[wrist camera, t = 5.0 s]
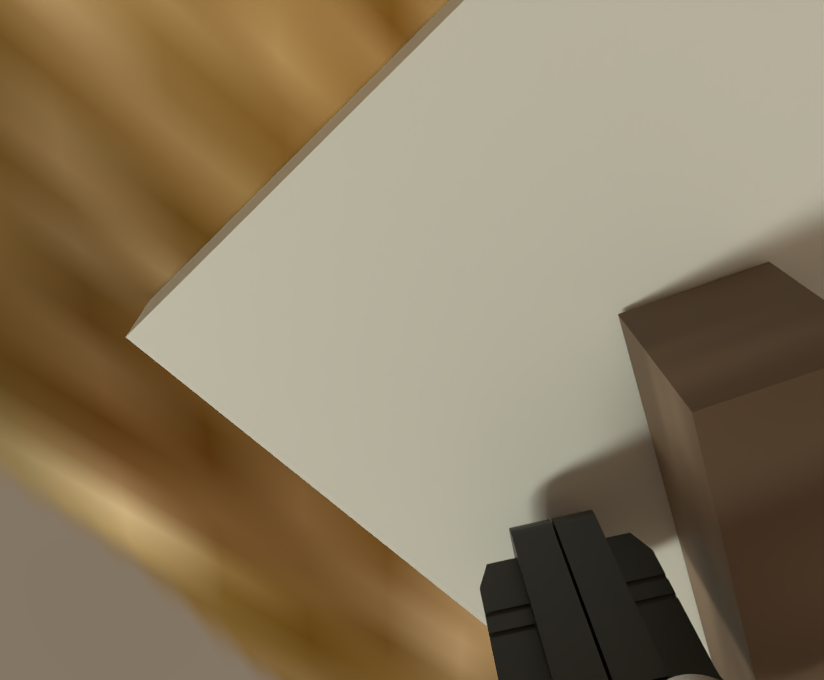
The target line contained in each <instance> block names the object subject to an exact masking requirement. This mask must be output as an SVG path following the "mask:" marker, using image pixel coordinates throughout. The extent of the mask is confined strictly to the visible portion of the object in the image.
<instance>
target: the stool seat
mask: <svg viewBox="0 0 824 680" xmlns="http://www.w3.org/2000/svg"><path fill="white" fill-rule="evenodd" d="M766 262H770V263H772V264H773V265H775V266H776V267H778V268H779V269H780V270H782V271H783V272H785V273H786V274H788V275H789V276H790V277H792V278H793V279H795V280H796V281H798V282H799V283H800V284H802V285H803V286H805V287H806V288H808V289H809V290H810V291H812V292H813V293H815V294H816V295H818V296H819V297H820V298H822V299H823V300H824V0H449V1H448V2H447V3H446V4H445V5H444V6H443V7H442V8H441V9H440V10H439V11H438V12H437V13H436V14H435V15H434V16H433V17H432V18H431V19H430V20H429V21H428V22H427V23H426V24H425V25H424V26H423V27H422V28H421V29H420V30H419V31H418V32H417V33H416V34H415V35H414V36H413V37H412V38H411V39H410V40H409V41H408V42H407V43H406V44H405V45H404V46H403V47H402V48H401V49H400V50H399V51H398V52H397V53H396V54H395V55H394V56H393V57H392V58H391V59H390V60H389V61H388V62H387V63H386V64H385V65H384V66H383V67H382V68H381V69H380V70H379V71H378V72H377V73H376V74H375V75H374V76H373V77H372V78H371V79H370V80H369V81H368V82H367V83H366V84H365V85H364V86H363V87H362V88H361V89H360V90H359V91H358V92H357V93H356V94H355V95H354V96H353V97H352V98H351V99H350V100H349V101H348V102H347V103H346V104H345V105H344V106H343V107H342V108H341V109H340V110H339V111H338V112H337V113H336V114H335V115H334V116H333V117H332V118H331V119H330V120H329V121H328V122H327V123H326V124H325V125H324V126H323V127H322V128H321V129H320V130H319V131H318V132H317V133H316V134H315V135H314V136H313V137H312V138H311V139H310V140H309V141H308V142H307V143H306V144H305V145H304V146H303V147H302V148H301V149H300V150H299V151H298V152H297V153H296V154H295V155H294V156H293V157H292V158H291V159H290V160H289V161H288V162H287V163H286V164H285V165H284V166H283V167H282V168H281V169H280V170H279V171H278V172H277V173H276V174H275V175H274V176H273V177H272V178H271V179H270V181H269V182H268V183H267V184H266V185H265V186H264V187H263V188H262V189H261V190H260V191H259V192H258V193H257V194H256V195H255V196H254V197H253V198H252V199H251V200H250V201H249V202H248V203H247V204H246V205H245V206H244V207H243V208H242V209H241V210H240V211H239V212H238V213H237V214H236V215H235V216H234V217H233V218H232V219H231V220H230V221H229V222H228V223H227V224H226V225H225V226H224V227H223V228H222V229H221V230H220V231H219V232H218V233H217V234H216V235H215V236H214V237H213V238H212V239H211V240H210V241H209V242H208V243H207V244H206V245H205V246H204V247H203V248H202V249H201V250H200V251H199V252H198V253H197V254H196V255H195V256H194V257H193V258H192V259H191V260H190V261H189V262H188V263H187V264H186V265H185V266H184V267H183V268H182V269H181V270H180V271H179V272H178V273H177V274H176V275H175V276H174V277H173V278H172V279H171V280H170V281H169V282H168V283H167V284H166V285H165V286H164V287H163V288H162V289H161V290H160V291H159V292H158V293H157V294H156V295H155V296H154V297H153V298H152V299H151V300H150V301H149V303H148V304H147V306H146V307H145V309H144V310H143V312H142V313H141V315H140V316H139V318H138V319H137V321H136V322H135V324H134V325H133V327H132V328H131V330H130V331H129V333H128V334H127V336H126V338H127V339H129V340H130V341H131V342H132V343H134V344H135V345H136V346H137V347H139V348H140V349H141V350H142V351H144V352H145V353H146V354H147V355H149V356H150V357H151V358H152V359H154V360H155V361H156V362H157V363H159V364H160V365H161V366H162V367H164V368H165V369H166V370H167V371H169V372H170V373H171V374H172V375H174V376H175V377H176V378H177V379H179V380H180V381H181V382H182V383H184V384H185V385H186V386H187V387H189V388H190V389H191V390H192V391H194V392H195V393H196V394H197V395H199V396H200V397H201V398H202V399H204V400H205V401H206V402H207V403H209V404H210V405H211V406H212V407H214V408H215V409H216V410H217V411H219V412H220V413H221V414H222V415H224V416H225V417H226V418H227V419H229V420H230V421H231V422H232V423H234V424H235V425H236V426H237V427H239V428H240V429H241V430H242V431H244V432H245V433H246V434H247V435H249V436H250V437H251V438H252V439H254V440H255V441H256V442H257V443H259V444H260V445H261V446H262V447H264V448H265V449H266V450H267V451H269V452H270V453H271V454H272V455H274V456H275V457H276V458H277V459H279V460H280V461H281V462H282V463H284V464H285V465H286V466H287V467H289V468H290V469H291V470H292V471H294V472H295V473H296V474H297V475H299V476H300V477H301V478H302V479H304V480H305V481H306V482H307V483H309V484H310V485H311V486H312V487H314V488H315V489H316V490H317V491H319V492H320V493H321V494H322V495H324V496H325V497H326V498H327V499H329V500H330V501H331V502H332V503H334V504H335V505H336V506H337V507H339V508H340V509H341V510H342V511H344V512H345V513H346V514H347V515H349V516H350V517H351V518H352V519H354V520H355V521H356V522H357V523H359V524H360V525H361V526H362V527H364V528H365V529H366V530H367V531H369V532H370V533H371V534H372V535H374V536H375V537H376V538H377V539H379V540H380V541H381V542H382V543H384V544H385V545H386V546H387V547H389V548H390V549H391V550H392V551H394V552H395V553H396V554H397V555H399V556H400V557H401V558H402V559H404V560H405V561H406V562H407V563H409V564H410V565H411V566H412V567H414V568H415V569H416V570H417V571H419V572H420V573H421V574H422V575H424V576H425V577H426V578H427V579H429V580H430V581H431V582H432V583H434V584H435V585H436V586H437V587H439V588H440V589H441V590H442V591H444V592H445V593H446V594H447V595H449V596H450V597H451V598H452V599H454V600H455V601H456V602H457V603H459V604H460V605H461V606H462V607H464V608H465V609H466V610H467V611H469V612H470V613H471V614H472V615H474V616H475V617H476V618H477V619H479V620H480V621H481V622H482V623H484V624H485V625H486V626H487V622H486V617H485V612H484V607H483V603H482V598H481V593H480V585H481V582H482V579H483V575H484V572H485V569H486V565H487V564H490V563H494V562H499V561H504V560H508V559H513V558H515V557H514V552H513V547H512V542H511V537H510V532H509V528H511V527H516V526H520V525H525V524H529V523H534V522H538V521H543V520H547V519H549V520H550V522H551V518H556V517H560V516H565V515H569V514H574V513H578V512H583V511H587V510H592V511H593V512H594V514H595V516H596V518H597V520H598V522H599V524H600V527H601V529H602V531H603V533H604V535H605V538H607V537H612V536H616V535H621V534H626V533H631V534H633V535H634V536H635V537H637V538H638V539H639V540H640V541H642V542H643V543H644V544H646V545H647V546H648V547H649V548H651V549H652V550H653V551H654V553H655V555H656V557H657V559H658V561H659V563H660V565H661V566H662V568H663V570H664V572H665V575H666V578H668V580H669V582H670V583H671V585H672V587H673V589H674V591H675V593H676V597H677V598H678V599H679V600H680V602H681V604H682V606H683V608H684V610H685V612H686V614H687V616H688V617H689V619H690V621H691V623H692V625H693V627H694V629H695V631H696V633H697V635H698V636H699V638H700V640H701V642H702V644H703V646H704V648H705V650H706V652H707V653H708V655H709V657H710V654H709V650H708V646H707V642H706V639H705V635H704V631H703V628H702V624H701V620H700V617H699V613H698V609H697V605H696V602H695V598H694V594H693V591H692V587H691V583H690V579H689V576H688V572H687V568H686V565H685V561H684V557H683V554H682V550H681V546H680V542H679V539H678V535H677V531H676V528H675V524H674V520H673V516H672V513H671V509H670V505H669V502H668V498H667V494H666V491H665V487H664V483H663V479H662V476H661V472H660V468H659V465H658V461H657V457H656V453H655V450H654V446H653V442H652V439H651V435H650V431H649V428H648V424H647V420H646V416H645V413H644V409H643V405H642V402H641V398H640V394H639V390H638V387H637V383H636V379H635V376H634V372H633V368H632V365H631V361H630V357H629V353H628V350H627V346H626V342H625V339H624V335H623V331H622V327H621V324H620V320H619V316H618V314H620V313H623V312H626V311H629V310H631V309H634V308H637V307H640V306H643V305H646V304H649V303H651V302H654V301H657V300H660V299H663V298H666V297H669V296H672V295H674V294H677V293H680V292H683V291H686V290H689V289H692V288H694V287H697V286H700V285H703V284H706V283H709V282H712V281H714V280H717V279H720V278H723V277H726V276H729V275H732V274H734V273H737V272H740V271H743V270H746V269H749V268H752V267H754V266H757V265H760V264H763V263H766ZM710 659H711V657H710Z"/></svg>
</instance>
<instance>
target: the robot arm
mask: <svg viewBox="0 0 824 680" xmlns="http://www.w3.org/2000/svg"><path fill="white" fill-rule="evenodd" d="M509 532H510V537H511V542H512V547H513V552H514V557H515V558H513V559H508V560H504V561H499V562H494V563H490V564H487V565H486V569H485V572H484V575H483V579H482V582H481V585H480V593H481V598H482V603H483V607H484V612H485V617H486V622H487V627H488V632H489V636H490V641H491V646H492V651H493V656H494V660H495V665H496V670H497V675H498V680H723V679H722V677H721V676H720V675H719V673H718V672H717V670H716V669H715V667H714V665H713V663H712V661H711V659H710V657H709V655H708V653H707V652H706V650H705V648H704V646H703V644H702V642H701V640H700V638H699V636H698V635H697V633H696V631H695V629H694V627H693V625H692V623H691V621H690V619H689V617H688V616H687V614H686V612H685V610H684V608H683V606H682V604H681V602H680V600H679V599H678V598H677V597H676V593H675V591H674V589H673V587H672V585H671V583H670V582H669V580H668V578H666V575H665V572H664V570H663V568H662V566H661V565H660V563H659V561H658V559H657V557H656V555H655V553H654V551H653V550H652V549H651V548H649V547H648V546H647V545H646V544H644V543H643V542H642V541H640V540H639V539H638V538H637V537H635V536H634V535H633V534H631V533H626V534H621V535H616V536H612V537H607V538H605V535H604V533H603V531H602V529H601V527H600V524H599V522H598V520H597V518H596V516H595V514H594V512H593V511H592V510H587V511H583V512H578V513H574V514H569V515H565V516H560V517H556V518H551V522H550V520H549V519H547V520H543V521H538V522H534V523H529V524H525V525H520V526H516V527H511V528H509Z"/></svg>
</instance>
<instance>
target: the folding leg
mask: <svg viewBox="0 0 824 680" xmlns="http://www.w3.org/2000/svg"><path fill="white" fill-rule="evenodd" d="M618 316H619V320H620V324H621V327H622V331H623V335H624V339H625V342H626V346H627V350H628V353H629V357H630V361H631V365H632V368H633V372H634V376H635V379H636V383H637V387H638V390H639V394H640V398H641V402H642V405H643V409H644V413H645V416H646V420H647V424H648V428H649V431H650V435H651V439H652V442H653V446H654V450H655V453H656V457H657V461H658V465H659V468H660V472H661V476H662V479H663V483H664V487H665V491H666V494H667V498H668V502H669V505H670V509H671V513H672V516H673V520H674V524H675V528H676V531H677V535H678V539H679V542H680V546H681V550H682V554H683V557H684V561H685V565H686V568H687V572H688V576H689V579H690V583H691V587H692V591H693V594H694V598H695V602H696V605H697V609H698V613H699V617H700V620H701V624H702V628H703V631H704V635H705V639H706V642H707V646H708V650H709V654H710V657H711V661H712V663H713V665H714V667H715V669H716V670H717V672H718V673H719V675H720V676H721V677H722V679H723V680H824V300H823V299H822V298H820V297H819V296H818V295H816V294H815V293H813V292H812V291H810V290H809V289H808V288H806V287H805V286H803V285H802V284H800V283H799V282H798V281H796V280H795V279H793V278H792V277H790V276H789V275H788V274H786V273H785V272H783V271H782V270H780V269H779V268H778V267H776V266H775V265H773V264H772V263H770V262H766V263H763V264H760V265H757V266H754V267H752V268H749V269H746V270H743V271H740V272H737V273H734V274H732V275H729V276H726V277H723V278H720V279H717V280H714V281H712V282H709V283H706V284H703V285H700V286H697V287H694V288H692V289H689V290H686V291H683V292H680V293H677V294H674V295H672V296H669V297H666V298H663V299H660V300H657V301H654V302H651V303H649V304H646V305H643V306H640V307H637V308H634V309H631V310H629V311H626V312H623V313H620V314H618Z"/></svg>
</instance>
